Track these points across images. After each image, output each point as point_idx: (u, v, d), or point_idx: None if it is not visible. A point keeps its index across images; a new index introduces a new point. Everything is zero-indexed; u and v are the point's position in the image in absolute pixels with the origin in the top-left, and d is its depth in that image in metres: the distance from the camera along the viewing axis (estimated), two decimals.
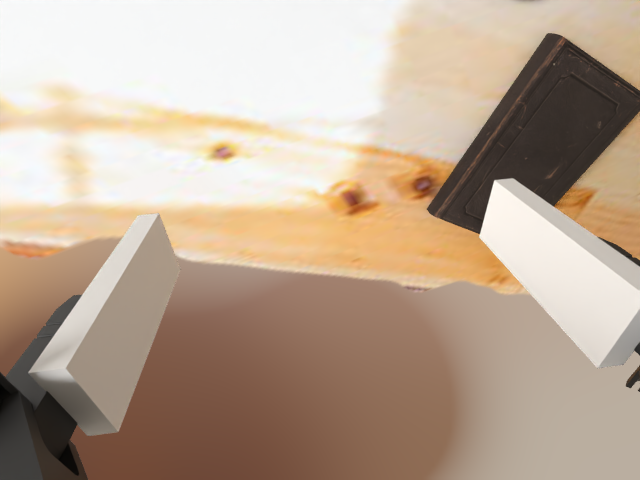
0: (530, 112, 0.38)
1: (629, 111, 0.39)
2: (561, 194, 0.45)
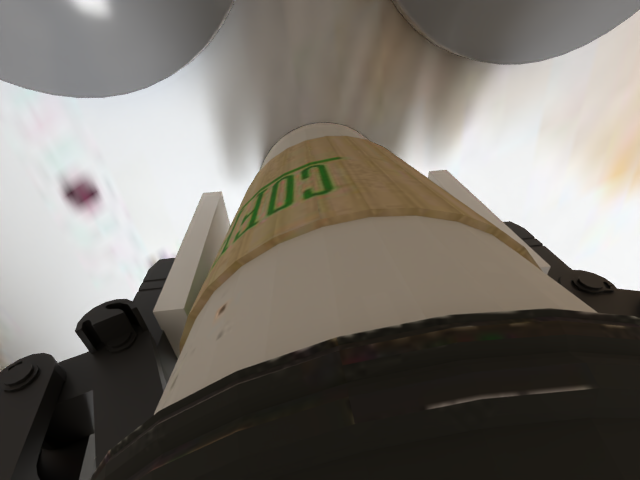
0: None
1: None
2: None
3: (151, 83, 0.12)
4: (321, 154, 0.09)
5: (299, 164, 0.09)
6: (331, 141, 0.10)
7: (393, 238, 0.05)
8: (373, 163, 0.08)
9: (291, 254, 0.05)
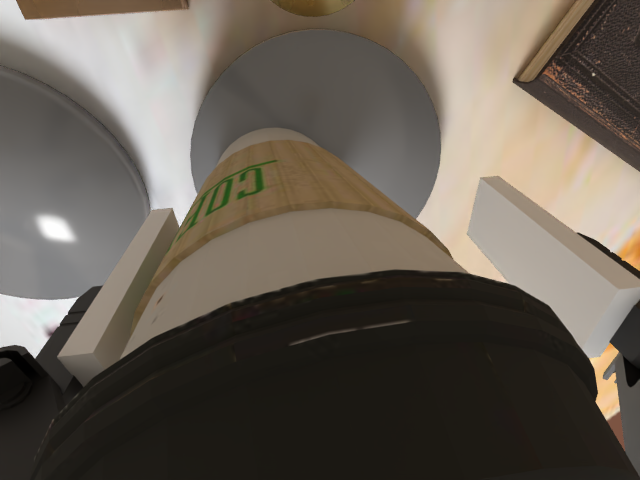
0: None
1: None
2: None
3: None
4: (260, 158, 0.10)
5: (240, 168, 0.10)
6: (272, 145, 0.11)
7: (305, 228, 0.06)
8: (305, 164, 0.09)
9: (220, 247, 0.06)
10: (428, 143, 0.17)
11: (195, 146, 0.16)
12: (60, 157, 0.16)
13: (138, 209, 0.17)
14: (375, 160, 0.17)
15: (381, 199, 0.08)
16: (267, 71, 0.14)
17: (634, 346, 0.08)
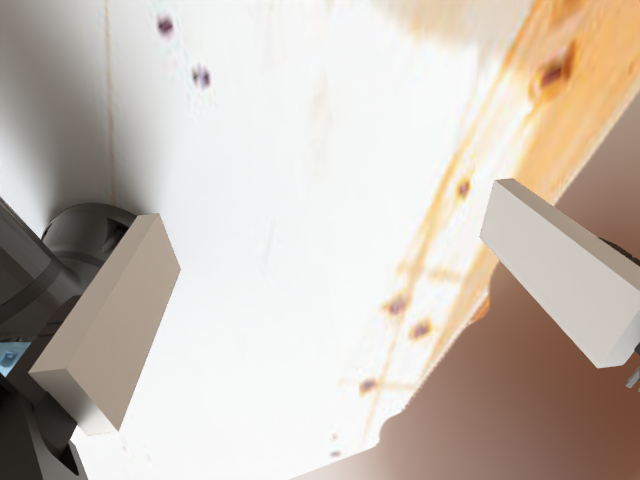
0: None
1: None
2: None
3: None
4: None
5: None
6: None
7: None
8: None
9: None
10: None
11: None
12: None
13: None
14: None
15: None
16: None
17: None
